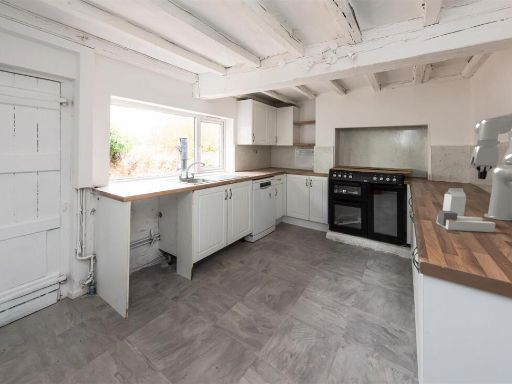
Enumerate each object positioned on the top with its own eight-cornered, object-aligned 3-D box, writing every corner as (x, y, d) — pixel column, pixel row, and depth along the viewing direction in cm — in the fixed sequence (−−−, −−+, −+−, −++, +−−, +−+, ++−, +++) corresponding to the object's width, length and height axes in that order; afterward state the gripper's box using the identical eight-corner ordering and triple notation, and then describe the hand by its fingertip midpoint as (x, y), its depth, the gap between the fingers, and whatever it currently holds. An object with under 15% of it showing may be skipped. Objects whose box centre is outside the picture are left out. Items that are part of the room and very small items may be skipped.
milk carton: (462, 222, 134) (467, 189, 131) (448, 222, 135) (452, 189, 132) (455, 219, 141) (459, 187, 137) (441, 218, 142) (445, 187, 139)
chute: (478, 225, 129) (479, 216, 128) (494, 232, 118) (496, 222, 117) (436, 223, 134) (437, 214, 133) (448, 229, 122) (449, 220, 121)
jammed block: (449, 223, 129) (451, 210, 128) (456, 226, 124) (457, 213, 123) (437, 222, 131) (438, 210, 130) (442, 225, 125) (444, 213, 124)
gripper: (498, 143, 125) (493, 178, 128) (465, 144, 128) (461, 178, 131) (510, 143, 118) (504, 180, 121) (474, 143, 121) (469, 179, 124)
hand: (481, 179), depth 126 cm, fingers closed
